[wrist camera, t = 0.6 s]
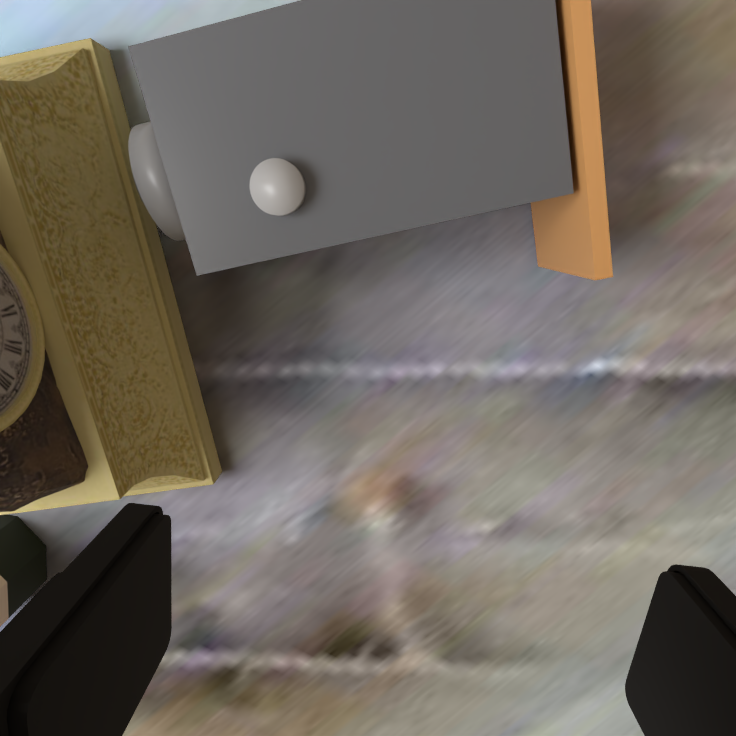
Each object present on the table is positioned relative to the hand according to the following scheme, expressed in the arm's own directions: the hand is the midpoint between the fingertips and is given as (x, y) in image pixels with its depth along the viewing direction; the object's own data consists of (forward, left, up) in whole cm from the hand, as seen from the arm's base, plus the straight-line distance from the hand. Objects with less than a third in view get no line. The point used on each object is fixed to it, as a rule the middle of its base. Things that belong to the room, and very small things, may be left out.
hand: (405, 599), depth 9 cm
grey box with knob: (+1, -12, -25) cm, 28 cm away
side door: (-11, -10, -25) cm, 28 cm away
